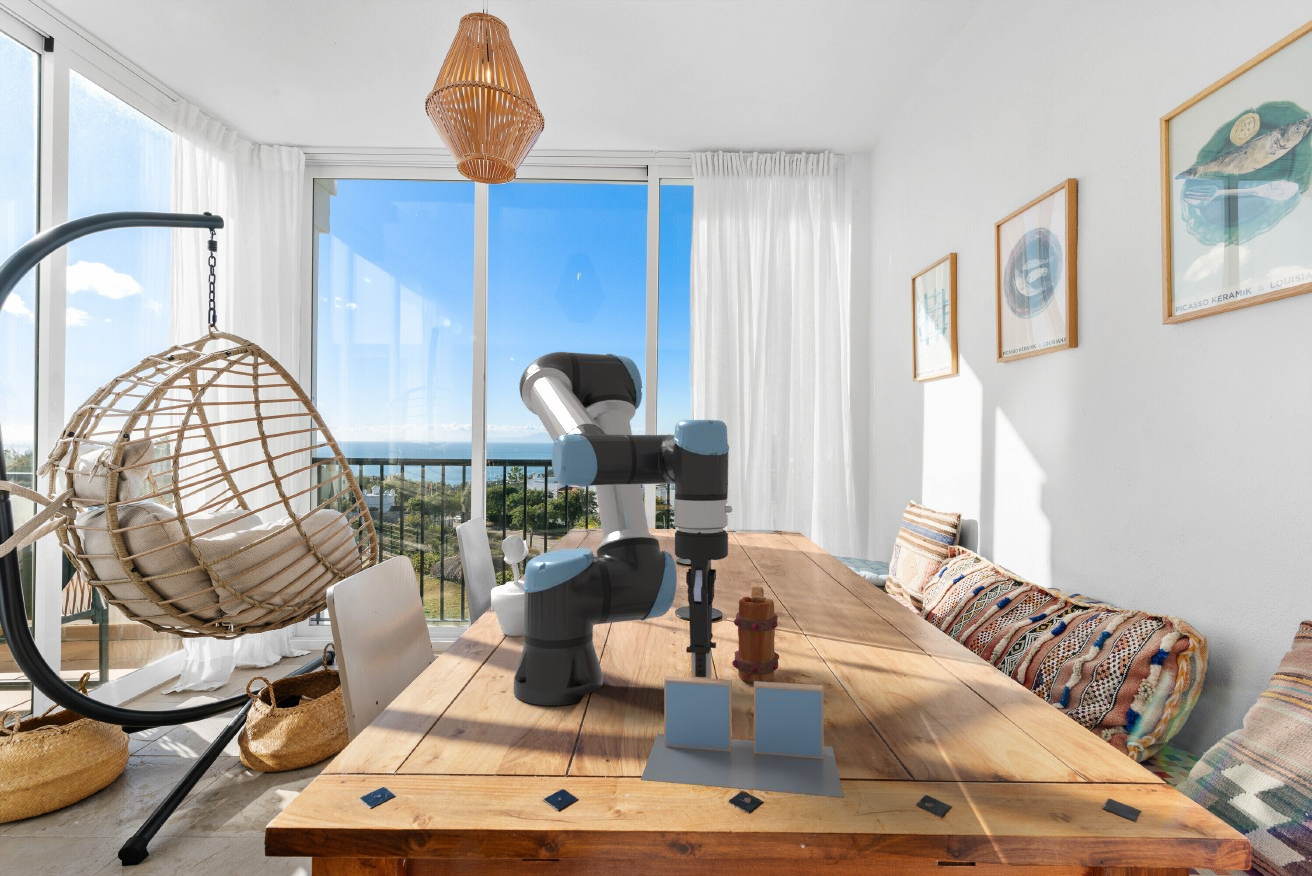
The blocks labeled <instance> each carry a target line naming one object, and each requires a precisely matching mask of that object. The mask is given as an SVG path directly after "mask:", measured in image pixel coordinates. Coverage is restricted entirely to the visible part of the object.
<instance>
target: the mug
mask: <svg viewBox="0 0 1312 876" xmlns="http://www.w3.org/2000/svg"><path fill="white" fill-rule="evenodd" d="M750 594H751V595H750V596H743V597H742V598H741V599H738V600H739V601H738V611H737V613H736V615H735V619H734V620H733V624H734V625H735V626H736V627H737V636H738V638H737V639H738V650H736V651H735V652H734V660H732V662H731V663H732V667H733V668H736V669H737V670H738V671H737V674H738V675H737V676H738V677H739V678H740V680H742V681H744V682H748V683H753V684H754V681H759V682H771V681H772V680H773V679H774V677H775V671H777V670H778V668H779V660H780V654H779V653H777V652H776V651H775V636H776V635H775V634H776V630H775V629H776V628H778V618H779V616H778V615H777V614H776V613H775V602H774V600H773V599H771V598H766V597H765V596H764V595H765V593H764V588H763V587H762V586H752V587H751V592H750Z"/></svg>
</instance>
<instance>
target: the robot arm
mask: <svg viewBox="0 0 1312 876" xmlns="http://www.w3.org/2000/svg"><path fill="white" fill-rule="evenodd" d="M642 389H643V382H642V378H641V373H640V370H639V368H638V366H637V365H636V363H635V362H634V360H633V359H631V358H630V357H628V356H626V355H618V354H617V355H616V354H614V353H607V354H599V353H584V352H583V353H580V352H567V351H555V352H551V353H547V354H544V355H542V356H539V357H538V358H537V359H534V360H533V361H532V362H531V363H530V364H529V365H528V366H527V367H526V368H525V369H524V371H523V373H522V375H521V377H520V381H519V394H520V398H521V401H522V402H523V404H524V405H525V407H526V408H527V410H528V411H529V412H531V413H532V414H534V415H536V416H537V417H538V418H539V420H540V422H541V424H542V425H543V426H544V428H545V430H546V431H547V433H548V435H549V436H550V438H551V440H552V441H553V445H552V452H551V468H552V470H553V477H554V479H555V481H556V482H557V483H558V484H560V485H563V486H577V487H581V488H583V487H588V486H589V487H590V486H595V490H596V491H595V492H596V498H597V499H596V500H597V504H598V505H597V506H598V513H599V518H600V519H599V520H600V526H601V533H602V541H601V542H600V543H599V545H598V546H597V548H596V556H595V555H594V553H593V551H592V550H591V549H589V548H583V547H578V548H563V549H557V550H552V551H548V552H545V553H541V554H539V555H537V556H534V557H533V558H531V559H530V560H529V561H528V562H527V563H526V565H525V570H524V580H523V581H524V586H523V590H524V636H523V637H524V638H523V639H524V643H523V644H524V645H523V649H522V652H521V654H520V658H519V660H518V665H517V667H516V670H515V673H514V676H513V694H514V696H515V697H516V698H517V699H518V700H520V701H523V702H526V703H528V704H533V705H541V706H565V705H566V706H567V705H572V704H577V703H581V702H582V700H583V698H584V697H585V696H586V695H589V694H590V693H593V692H595V691H597V690H598V689H600V688H601V687H602V686H604V683H603V682H604V675H603V671H602V667H601V665H600V662H599V658H598V655H597V652H596V648H595V645H594V640H593V639H594V638H593V637H594V636H593V635H594V633H593V630H594V626H595V625H602V624H603V625H605V624H613V623H620V622H622V623H623V622H631V621H638V620H640V621H644V622H645V621H646V620H649V619H655V618H660V617H663V616H664V615H666V614H667V613H668V612H670V609H671V607H672V605H673V603H674V601H675V596H676V592H677V583H678V573H677V566H676V561H675V559H674V558H673V555H672V554H671V553H670V552H669V551H665V550H661V547H660V542H659V539H658V537H656V536H655V535H654V534H652V533H650V531H649V525H648V519H647V514H646V513H647V512H646V508H645V503H644V498H643V490H642V485H662V484H663V485H664V484H667V485H668V484H669V485H670V484H672V485H673V484H674V503H673V505H674V506H673V507H674V518H673V520H674V522H673V523H674V526H675V527H676V528H678V529H676V531H675V532H674V555H675V557H677V558H679V559H682V560H688V561H690V562H691V564H690V568H687V569H688V570H687V571H686V574H685V577H686V578H685V583H686V585H687V590H686V591H687V601H688V612H689V646H687V647H686V650H685V651H686V653H689V654H691V656H690V657H691V658H690V659H691V664H690V665H691V666H690V667H691V671H690V672H691V673H690V675H691V677H693V678H709V679H712V649H716V648H717V642H714V641H713V642H712V639H713V635H714V634H713V602H714V598H715V583H716V580H717V569H715V568H714V569H713V568H712V561H719V560H724V559H726V558H727V557H728V555H729V532H727V531H726V530H725V528H727V527H728V524H729V522H728V521H729V519H728V518H729V517H728V513H730V514H731V513H732V512H733V507H732V506H731V505H727V504H728V503H729V502H728V495H729V451H730V446H729V443H728V440H729V439H728V426H727V424H726V423H725V422H724V421H723V420H718V419H683V420H679V421H677V422H676V424H675V426H674V427H675V428H674V434H633V431H632V426H631V421H632V419H634V417H635V415H636V410H637V409H639V407H640V405H641V403H642V398H643V397H642V396H643V391H642Z"/></svg>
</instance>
